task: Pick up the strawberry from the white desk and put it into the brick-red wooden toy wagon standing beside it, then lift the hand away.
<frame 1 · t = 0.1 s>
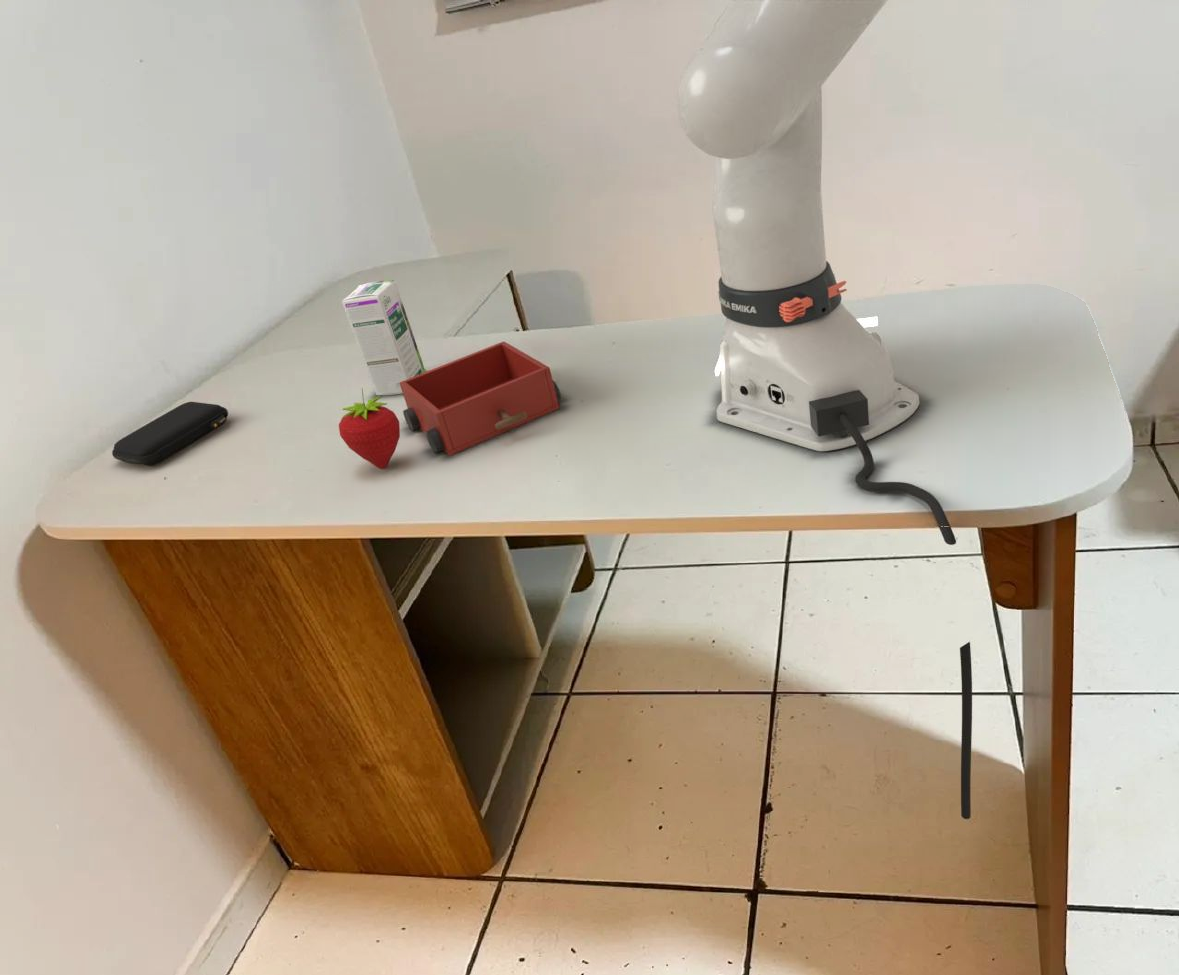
toy wagon: (484, 415, 118), on the table
strawberry: (384, 468, 111), on the table
carrying case: (179, 443, 131), on the table
syrup box: (401, 387, 132), on the table
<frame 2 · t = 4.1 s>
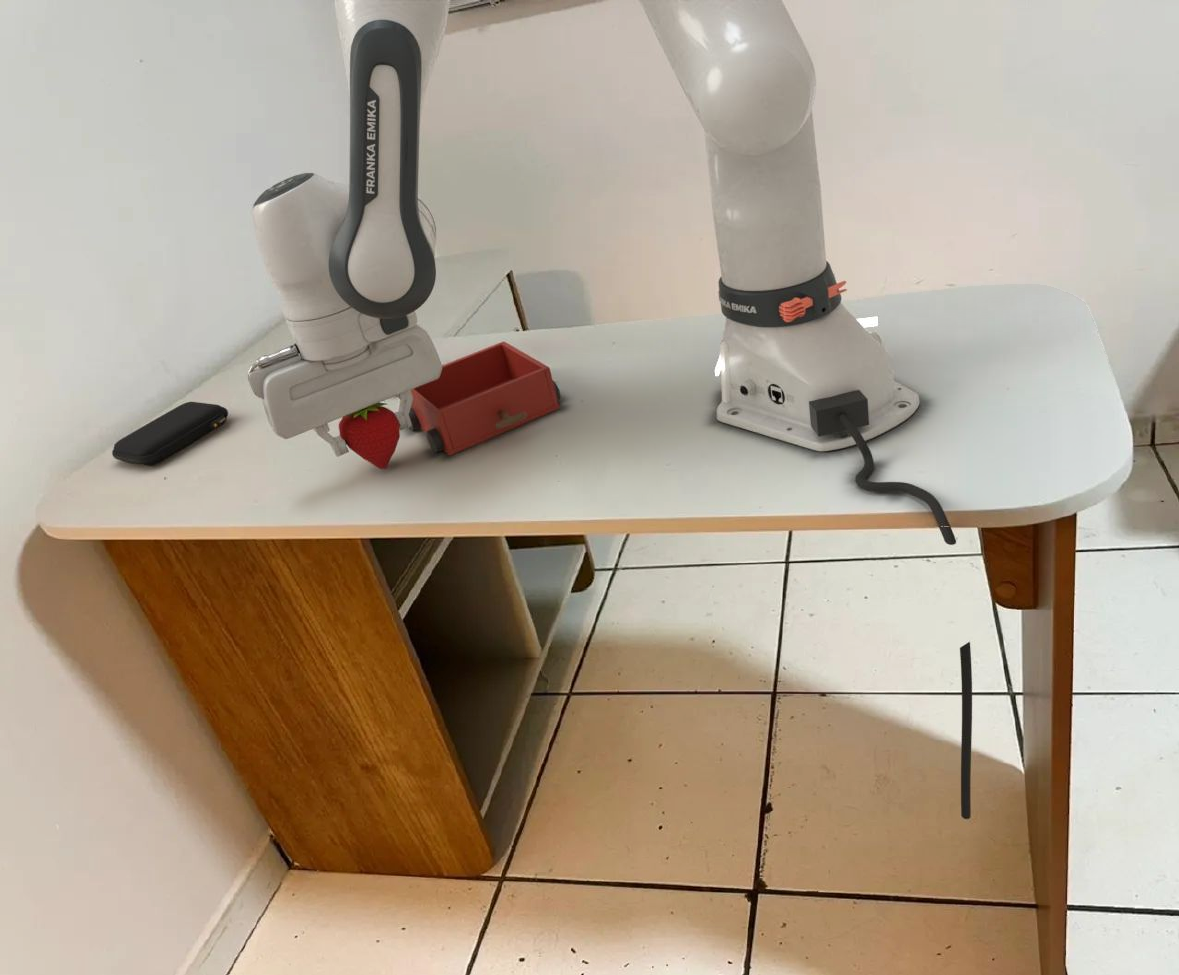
hand: (373, 439, 110), 4 cm above the table, tool pointing down, fingers closed on strawberry, 6 cm apart
strawberry: (384, 468, 111), on the table, touching gripper
everything else where it was.
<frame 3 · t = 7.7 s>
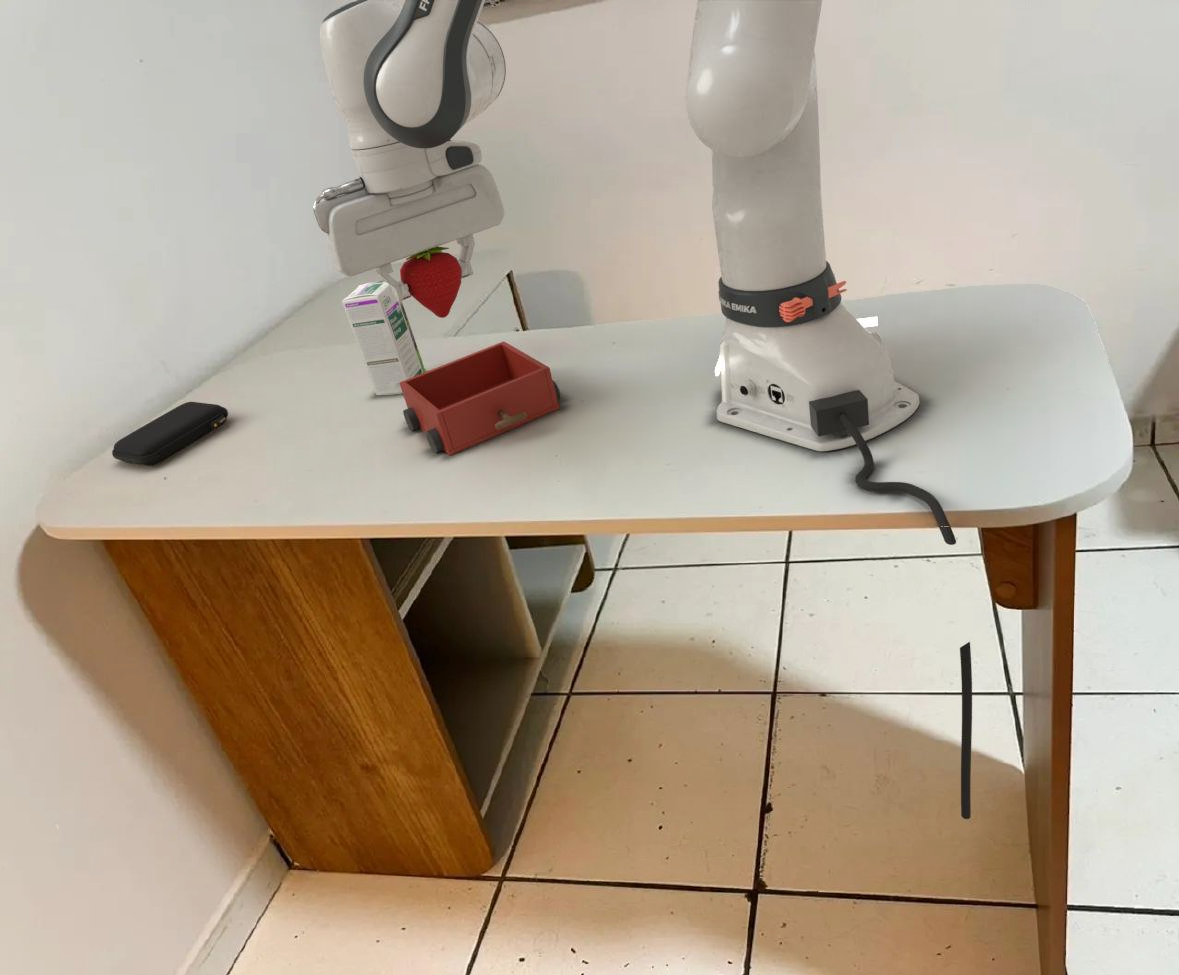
hand: (435, 286, 109), 18 cm above the table, tool pointing down, fingers closed on strawberry, 6 cm apart
strawberry: (444, 318, 110), point 14 cm above the table, touching gripper
everything else where it was.
when the fingers open (4 cm above the table, at t = 11.4 s): strawberry stays where it is, resting on toy wagon.
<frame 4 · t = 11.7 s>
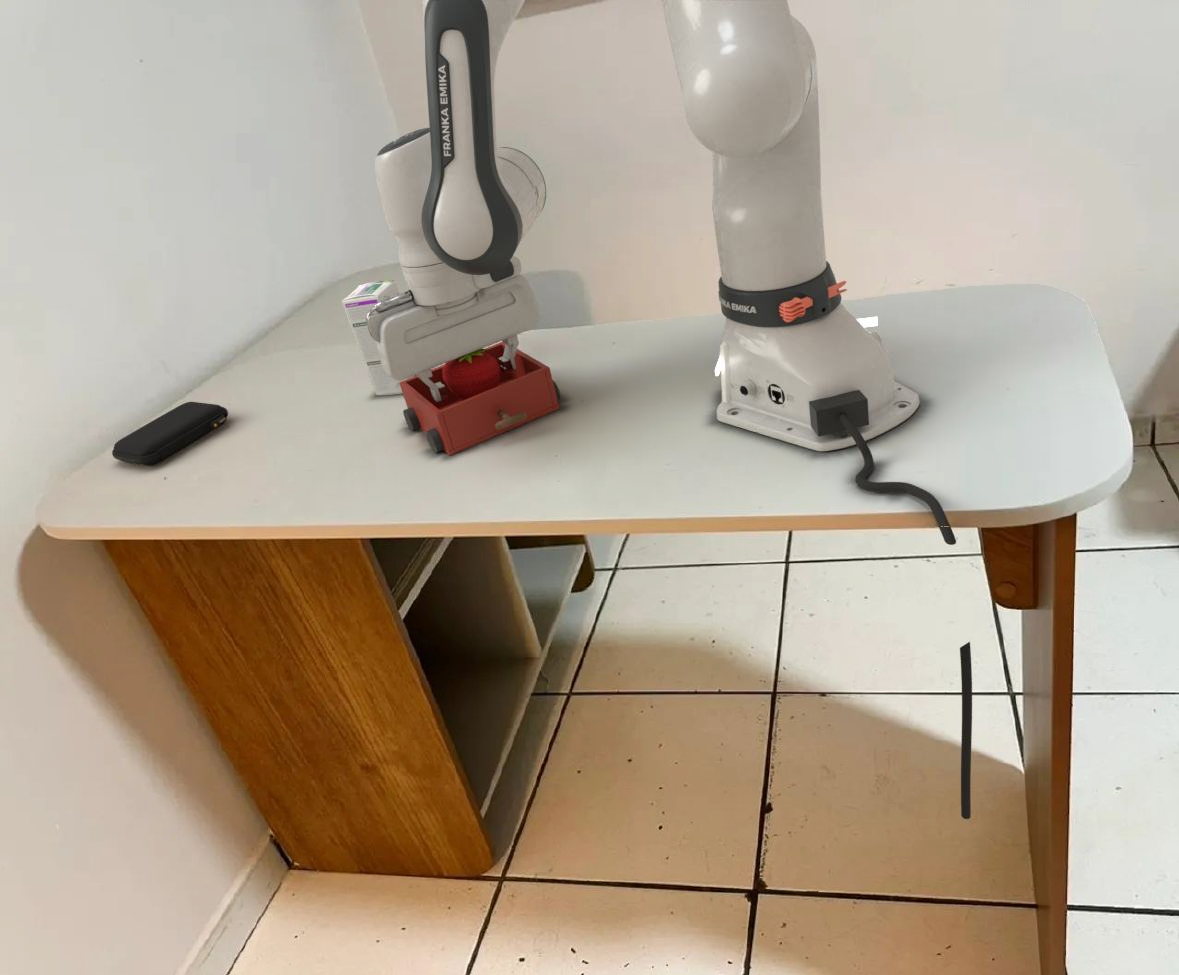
hand: (475, 384, 116), 4 cm above the table, tool pointing down, fingers open, 8 cm apart
strawberry: (482, 412, 118), resting on toy wagon
everything else where it was.
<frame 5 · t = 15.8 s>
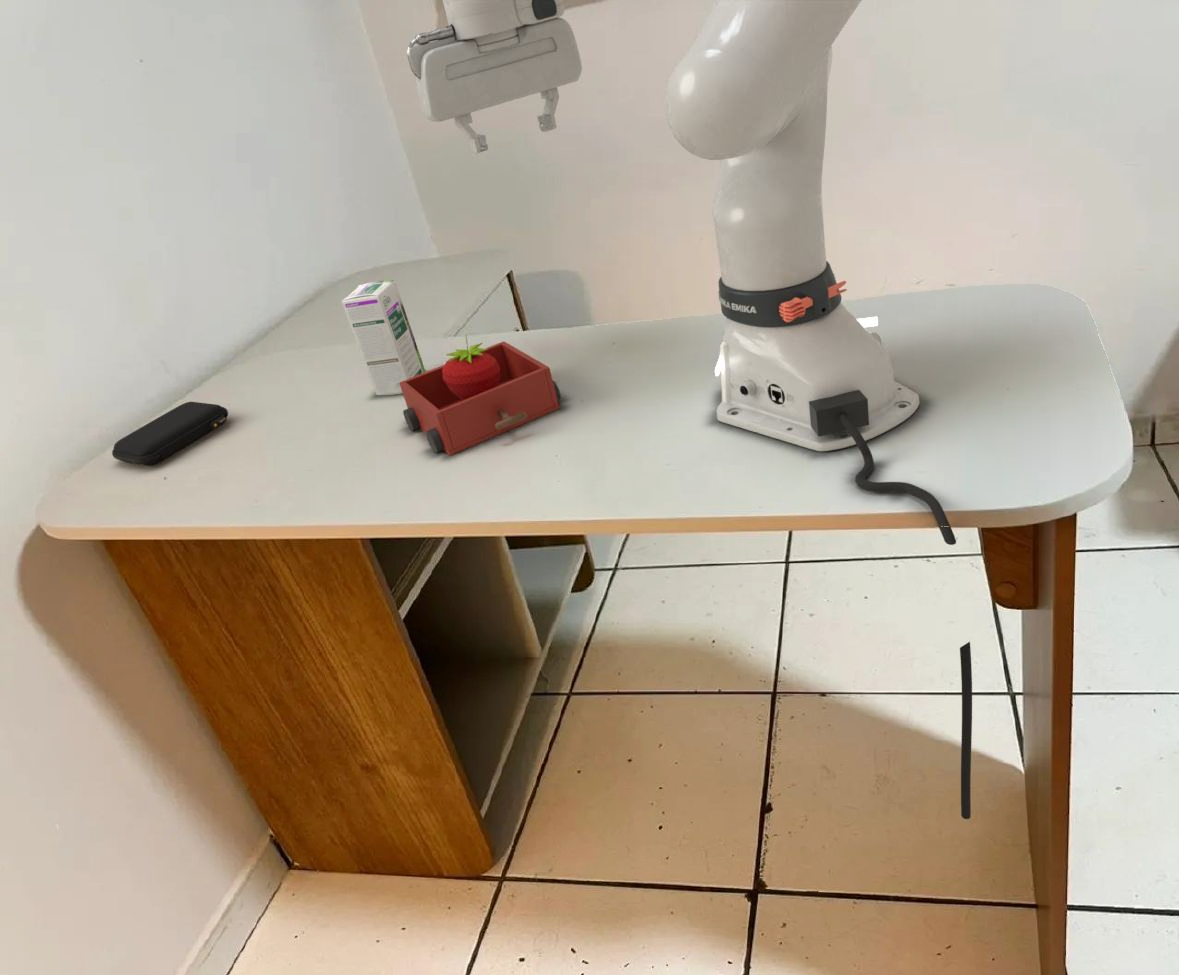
hand: (515, 140, 114), 29 cm above the table, tool pointing down, fingers open, 8 cm apart
nothing on the table moved.
at the end: strawberry inside the target area on the toy wagon (0.1 cm from its centre), point 0.4 cm above the toy wagon's base; the gripper is holding nothing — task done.
